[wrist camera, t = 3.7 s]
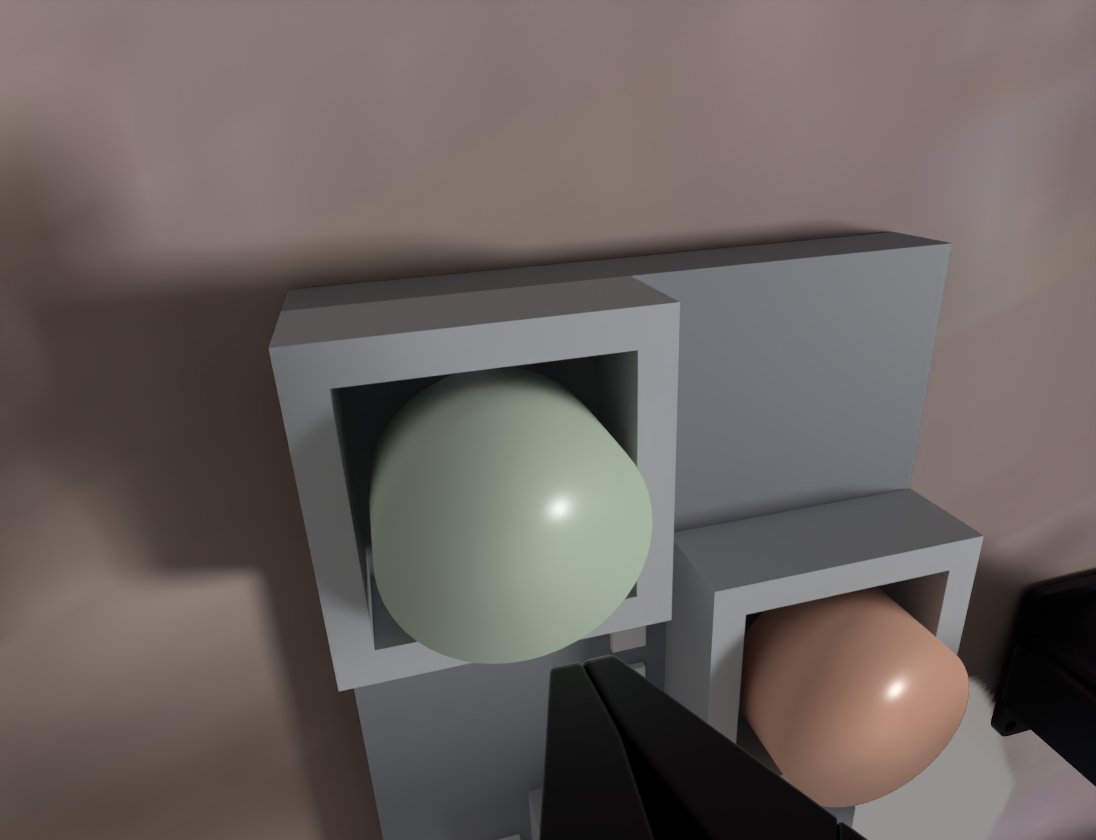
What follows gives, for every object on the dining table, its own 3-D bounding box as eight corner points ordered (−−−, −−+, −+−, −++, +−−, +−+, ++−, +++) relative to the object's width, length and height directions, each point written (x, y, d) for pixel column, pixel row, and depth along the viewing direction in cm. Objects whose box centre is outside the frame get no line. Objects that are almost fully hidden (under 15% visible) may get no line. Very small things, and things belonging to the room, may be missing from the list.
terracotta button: (907, 560, 18) (987, 621, 16) (881, 705, 20) (949, 778, 18) (735, 596, 17) (794, 667, 15) (725, 746, 19) (775, 829, 17)
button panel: (893, 231, 19) (1045, 261, 15) (813, 807, 27) (896, 928, 23) (288, 289, 15) (268, 348, 11) (407, 925, 24) (420, 1090, 20)
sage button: (604, 352, 14) (654, 396, 12) (607, 561, 16) (650, 633, 14) (350, 384, 13) (351, 438, 11) (385, 604, 15) (393, 689, 13)
